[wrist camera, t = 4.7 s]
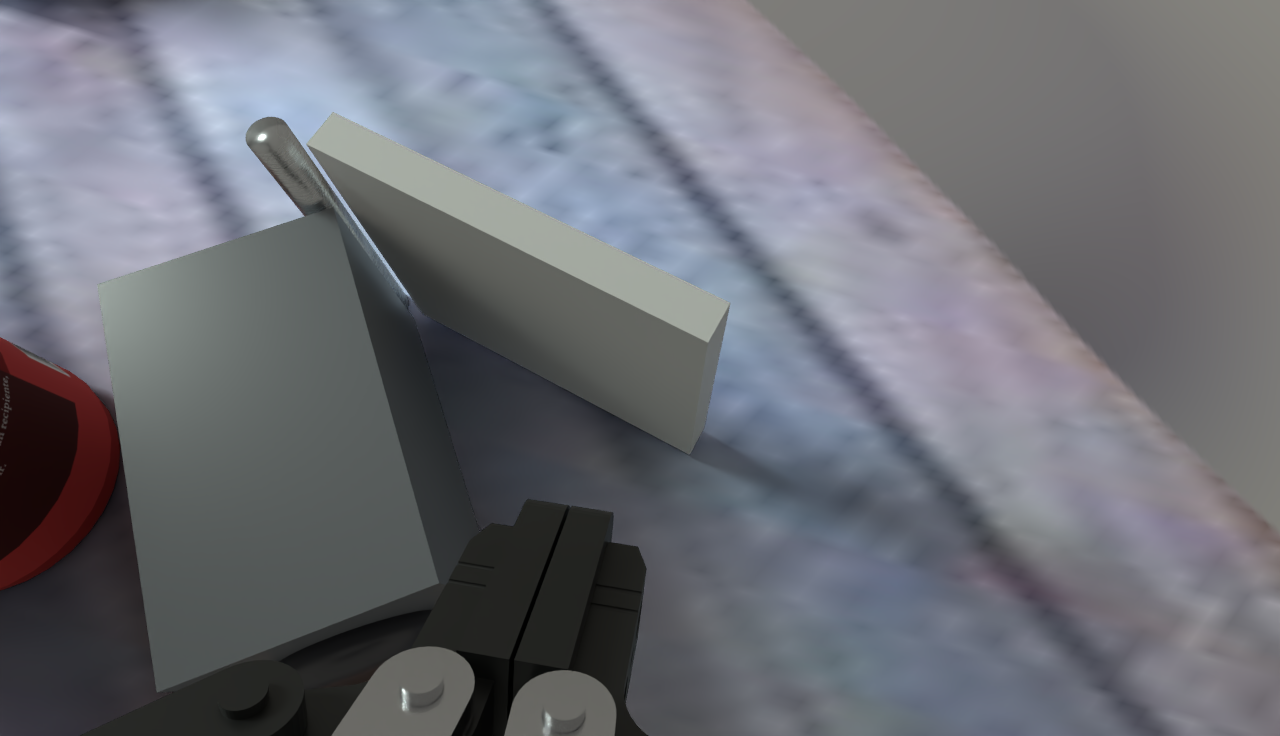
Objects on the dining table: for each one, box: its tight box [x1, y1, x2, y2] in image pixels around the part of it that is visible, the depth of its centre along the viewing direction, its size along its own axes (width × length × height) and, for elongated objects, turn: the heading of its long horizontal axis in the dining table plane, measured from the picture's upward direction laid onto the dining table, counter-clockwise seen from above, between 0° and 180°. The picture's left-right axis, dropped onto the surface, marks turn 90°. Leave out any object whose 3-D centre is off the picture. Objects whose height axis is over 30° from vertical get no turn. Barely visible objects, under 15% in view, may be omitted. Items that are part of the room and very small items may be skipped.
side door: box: [307, 112, 730, 455], centre depth 21 cm, size 10×2×9 cm, turn 61°
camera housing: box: [97, 117, 480, 693], centre depth 20 cm, size 12×6×9 cm, turn 21°
